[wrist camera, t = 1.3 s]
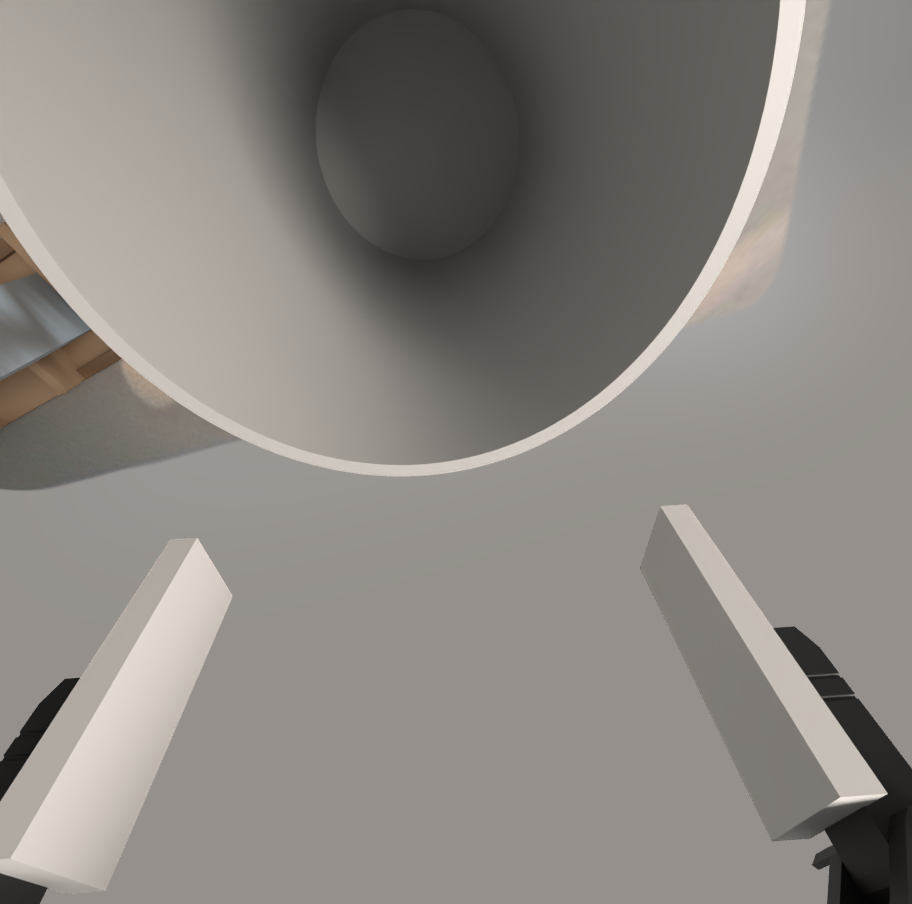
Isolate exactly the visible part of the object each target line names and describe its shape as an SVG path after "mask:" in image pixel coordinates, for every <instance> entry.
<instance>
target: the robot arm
mask: <svg viewBox="0 0 912 904" xmlns="http://www.w3.org/2000/svg"><path fill="white" fill-rule="evenodd" d="M640 569H641V571H642V573H643V575H644V577H645V579H646V581H647V584H648V586H649V588H650V590H651V592H652V594H653V596H654V598H655V600H656V602H657V604H658V606H659V608H660V610H661V613H662V615H663V617H664V619H665V621H666V623H667V625H668V627H669V629H670V631H671V633H672V635H673V637H674V639H675V642H676V644H677V646H678V648H679V650H680V652H681V654H682V656H683V658H684V660H685V662H686V664H687V666H688V668H689V670H690V673H691V675H692V677H693V679H694V681H695V683H696V685H697V687H698V689H699V691H700V693H701V695H702V698H703V700H704V702H705V704H706V706H707V708H708V710H709V712H710V714H711V716H712V718H713V720H714V722H715V724H716V726H717V729H718V731H719V733H720V735H721V737H722V739H723V741H724V743H725V745H726V747H727V749H728V751H729V753H730V755H731V758H732V760H733V762H734V764H735V766H736V768H737V770H738V772H739V774H740V776H741V778H742V780H743V782H744V785H745V787H746V788H747V791H748V793H749V795H750V797H751V799H752V801H753V803H754V805H755V807H756V809H757V811H758V813H759V816H760V817H761V820H762V822H763V824H764V826H765V828H766V830H767V832H768V834H769V836H770V838H771V840H772V841H782V840H795V839H809V838H812V837H814V836H815V835H817V834H819V833H821V832H822V831H824V830H825V831H826V833H827V835H828V837H829V839H830V840H831V842H832V844H833V845H832V846H830V847H828V848H826V849H824V850H823V851H821V852H819V853H817V854H816V855H815V859H814V861H813V864H812V865H813V866H814V867H816V868H817V869H822V868H824V867H826V866H828V865H830V868H829V884H828V901H827V904H912V769H911V767H910V766H909V765H908V763H907V762H906V761H905V759H904V758H903V757H902V755H901V754H900V753H899V752H898V750H897V749H896V748H895V746H894V745H893V744H892V742H891V741H890V740H889V739H888V737H887V736H886V735H885V733H884V732H883V730H882V729H881V728H880V726H879V725H878V724H877V722H876V721H875V720H874V719H873V717H872V716H871V715H870V713H869V712H868V711H867V709H866V708H865V707H864V705H863V704H862V703H861V701H860V700H859V699H856V698H855V696H854V692H853V691H852V690H851V688H850V687H849V686H848V684H847V683H846V682H845V680H844V679H843V678H841V677H840V676H839V675H838V671H837V670H836V668H835V667H834V666H833V664H832V663H831V662H830V661H829V659H828V658H827V657H826V655H825V654H824V653H823V651H822V650H821V649H820V647H818V646H817V645H816V644H815V643H814V642H812V641H811V640H810V639H809V638H808V637H806V636H805V635H804V634H803V633H802V632H800V631H799V630H798V629H797V628H796V627H782V628H773V627H772V626H771V625H770V623H769V622H768V620H767V619H766V617H765V616H764V615H763V613H762V612H761V610H760V609H759V607H758V606H757V604H756V603H755V602H754V600H753V599H752V597H751V596H750V594H749V593H748V591H747V590H746V588H745V587H744V586H743V584H742V583H741V581H740V580H739V578H738V577H737V575H736V574H735V573H734V571H733V570H732V568H731V567H730V565H729V564H728V563H727V561H726V560H725V558H724V557H723V555H722V554H721V553H720V551H719V550H718V548H717V547H716V545H715V544H714V542H713V541H712V539H711V538H710V537H709V535H708V534H707V532H706V531H705V529H704V528H703V526H702V525H701V524H700V522H699V521H698V519H697V518H696V517H695V515H694V514H693V512H692V511H691V509H690V508H689V506H688V505H672V506H661V507H660V509H659V512H658V515H657V518H656V521H655V524H654V527H653V530H652V533H651V537H650V539H649V542H648V546H647V548H646V552H645V555H644V558H643V561H642V564H641V567H640ZM231 599H232V594H231V593H230V591H229V589H228V588H227V586H226V585H225V583H224V581H223V579H222V578H221V576H220V574H219V573H218V571H217V570H216V568H215V566H214V565H213V563H212V561H211V560H210V558H209V556H208V555H207V553H206V551H205V550H204V548H203V546H202V545H201V543H200V542H199V540H198V538H184V539H170V540H169V542H168V543H167V545H166V546H165V548H164V550H163V551H162V553H161V554H160V556H159V557H158V559H157V560H156V562H155V564H154V565H153V567H152V568H151V570H150V571H149V573H148V574H147V576H146V577H145V579H144V580H143V582H142V583H141V585H140V587H139V588H138V590H137V591H136V593H135V594H134V596H133V597H132V599H131V600H130V602H129V604H128V605H127V607H126V608H125V610H124V611H123V613H122V614H121V616H120V617H119V619H118V621H117V622H116V624H115V625H114V627H113V628H112V630H111V631H110V633H109V635H108V636H107V637H106V639H105V641H104V642H103V644H102V645H101V647H100V648H99V650H98V652H97V653H96V654H95V656H94V658H93V659H92V661H91V662H90V664H89V665H88V667H87V668H86V670H85V672H84V673H83V675H82V676H81V678H71V679H64V680H63V681H62V682H61V683H60V684H59V685H58V686H57V687H56V688H55V689H54V690H53V691H52V692H51V693H50V694H49V695H48V696H47V697H46V698H45V699H44V700H43V701H42V702H41V703H40V704H39V705H38V706H37V708H36V709H35V711H34V712H33V714H32V715H31V716H30V718H29V719H28V721H27V722H26V724H25V725H24V727H23V728H22V730H21V731H20V736H19V737H17V738H15V740H14V741H13V743H12V744H11V745H10V747H9V749H8V750H7V751H6V753H5V754H4V759H3V760H2V761H1V762H0V904H40V902H41V900H42V898H43V896H44V894H45V892H46V890H47V888H48V889H51V890H55V891H58V892H61V893H65V894H72V893H85V892H99V891H106V888H107V886H108V884H109V881H110V879H111V877H112V874H113V872H114V870H115V867H116V865H117V863H118V861H119V858H120V856H121V853H122V851H123V849H124V847H125V844H126V842H127V840H128V837H129V835H130V833H131V830H132V828H133V826H134V823H135V821H136V819H137V817H138V814H139V812H140V810H141V807H142V805H143V803H144V800H145V798H146V796H147V793H148V791H149V788H150V786H151V784H152V782H153V779H154V777H155V775H156V772H157V770H158V768H159V766H160V763H161V761H162V759H163V756H164V754H165V752H166V749H167V747H168V745H169V742H170V740H171V738H172V735H173V733H174V731H175V728H176V726H177V724H178V722H179V719H180V717H181V715H182V712H183V710H184V708H185V705H186V703H187V701H188V698H189V696H190V694H191V692H192V689H193V687H194V685H195V682H196V680H197V678H198V675H199V673H200V671H201V668H202V666H203V664H204V661H205V659H206V657H207V654H208V652H209V650H210V647H211V645H212V643H213V641H214V638H215V636H216V634H217V631H218V629H219V627H220V624H221V622H222V620H223V617H224V615H225V613H226V610H227V608H228V606H229V603H230V601H231Z"/></svg>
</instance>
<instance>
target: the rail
mask: <svg viewBox="0 0 912 904" xmlns="http://www.w3.org/2000/svg"><path fill="white" fill-rule="evenodd" d="M0 236H1V237H2V238H0V429H1V428H3V427H4V426H6V425H7V424H9V423H11V422H12V421H14V420H16V419H18V418H19V417H21V416H23V415H24V414H26V413H28V412H30V411H31V410H33V409H35V408H36V407H38V406H40V405H42V404H43V403H45V402H47V401H49V400H50V399H52V398H54V397H55V396H57V395H59V394H60V395H62V394H64V393H66V392H68V391H69V390H71V389H72V388H74V387H75V386H77V385H78V384H80V383H81V382H83V381H84V380H86V379H87V378H89V377H91V376H92V375H94V374H96V373H98V372H99V371H101V370H103V369H104V368H106V367H108V366H110V365H111V364H113V363H115V362H117V361H118V360H120V359H122V358H121V357H120V356H119V355H118V354H116V353H115V352H114V351H113V350H112V349H111V348H110V347H109V346H108V345H107V344H106V343H105V342H104V341H103V340H102V339H101V338H100V337H99V336H98V335H97V334H96V333H95V332H94V331H93V330H92V329H91V328H90V327H89V326H88V325H87V324H86V323H85V322H84V321H83V320H82V319H81V318H80V317H79V316H78V314H77V313H76V312H75V311H74V310H73V309H72V308H71V307H70V306H69V304H68V303H67V302H66V301H65V300H64V299H63V297H62V296H61V295H60V294H59V293H58V292H57V290H56V289H55V288H54V287H53V286H52V284H51V283H50V282H49V281H48V279H47V278H46V277H45V276H44V274H43V273H42V272H41V270H40V269H39V268H38V266H37V265H36V264H35V262H34V261H33V260H32V259H31V257H30V256H29V254H28V253H27V252H26V250H25V249H24V247H23V246H22V245H21V243H20V242H19V240H18V239H17V238H16V236H15V235H14V233H13V232H12V230H11V229H10V227H9V226H8V224H7V223H6V222H5V223H2V224H1V225H0Z"/></svg>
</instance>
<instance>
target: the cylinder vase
mask: <svg viewBox="0 0 912 904" xmlns="http://www.w3.org/2000/svg"><path fill="white" fill-rule="evenodd" d="M805 4H806V0H0V213H1V215H2V216H3V218H4V220H5V221H6V223H7V224H8V226H9V227H10V229H11V230H12V232H13V233H14V235H15V236H16V238H17V239H18V240H19V242H20V243H21V245H22V246H23V247H24V249H25V250H26V252H27V253H28V254H29V256H30V257H31V259H32V260H33V261H34V262H35V264H36V265H37V266H38V268H39V269H40V270H41V272H42V273H43V274H44V276H45V277H46V278H47V279H48V281H49V282H50V283H51V284H52V286H53V287H54V288H55V289H56V290H57V292H58V293H59V294H60V295H61V296H62V297H63V299H64V300H65V301H66V302H67V303H68V304H69V306H70V307H71V308H72V309H73V310H74V311H75V312H76V313H77V314H78V316H79V317H80V318H81V319H82V320H83V321H84V322H85V323H86V324H87V325H88V326H89V327H90V328H91V329H92V330H93V331H94V332H95V333H96V334H97V335H98V336H99V337H100V338H101V339H102V340H103V341H104V342H105V343H106V344H107V345H108V346H109V347H110V348H111V349H112V350H113V351H114V352H115V353H116V354H118V355H119V356H120V357H121V358H122V359H123V360H124V361H125V362H127V363H128V364H129V365H130V366H131V367H132V368H133V369H135V370H136V371H137V372H138V373H140V374H141V375H142V376H143V377H144V378H146V379H147V380H148V381H149V382H151V383H152V384H153V385H155V386H156V387H157V388H159V389H160V390H161V391H163V392H164V393H165V394H167V395H168V396H169V397H171V398H172V399H174V400H175V401H177V402H178V403H180V404H181V405H183V406H184V407H186V408H187V409H189V410H190V411H192V412H193V413H195V414H197V415H198V416H200V417H202V418H203V419H205V420H207V421H208V422H210V423H212V424H214V425H215V426H217V427H219V428H221V429H223V430H225V431H227V432H229V433H230V434H232V435H234V436H237V437H239V438H241V439H243V440H245V441H247V442H249V443H252V444H254V445H256V446H259V447H261V448H263V449H266V450H268V451H271V452H274V453H276V454H279V455H282V456H285V457H288V458H291V459H294V460H298V461H301V462H304V463H308V464H312V465H315V466H320V467H324V468H328V469H334V470H338V471H345V472H351V473H358V474H366V475H378V476H423V475H434V474H443V473H450V472H456V471H461V470H467V469H471V468H476V467H479V466H483V465H487V464H491V463H494V462H497V461H501V460H504V459H507V458H510V457H512V456H515V455H518V454H520V453H522V452H525V451H527V450H530V449H532V448H534V447H537V446H539V445H541V444H543V443H545V442H547V441H549V440H551V439H553V438H555V437H557V436H558V435H560V434H562V433H564V432H565V431H567V430H569V429H570V428H572V427H574V426H575V425H577V424H579V423H580V422H582V421H584V420H585V419H586V418H588V417H589V416H591V415H592V414H594V413H595V412H596V411H598V410H599V409H601V408H602V407H603V406H605V405H606V404H607V403H609V402H610V401H611V400H612V399H614V398H615V397H616V396H617V395H618V394H620V393H621V392H622V391H623V390H624V389H625V388H627V387H628V386H629V385H630V384H631V383H632V382H633V381H634V380H635V379H636V378H638V377H639V376H640V375H641V374H642V373H643V372H644V371H645V370H646V369H647V368H648V367H649V366H650V364H651V363H652V362H653V361H654V360H655V359H656V358H657V357H658V356H659V355H660V354H661V353H662V352H663V350H664V349H665V348H666V347H667V346H668V345H669V344H670V342H671V341H672V340H673V339H674V338H675V336H676V335H677V334H678V333H679V331H680V330H681V329H682V328H683V326H684V325H685V324H686V322H687V321H688V320H689V318H690V317H691V316H692V314H693V313H694V312H695V310H696V309H697V307H698V306H699V304H700V303H701V301H702V300H703V298H704V297H705V295H706V294H707V292H708V291H709V289H710V288H711V286H712V284H713V283H714V281H715V279H716V278H717V276H718V274H719V273H720V271H721V269H722V268H723V266H724V264H725V262H726V260H727V259H728V257H729V255H730V253H731V251H732V249H733V247H734V245H735V243H736V242H737V240H738V238H739V236H740V234H741V231H742V229H743V227H744V225H745V223H746V221H747V219H748V216H749V214H750V212H751V210H752V207H753V205H754V203H755V200H756V198H757V195H758V193H759V190H760V188H761V185H762V183H763V180H764V177H765V174H766V172H767V169H768V166H769V163H770V161H771V157H772V154H773V151H774V148H775V145H776V142H777V139H778V135H779V132H780V129H781V125H782V122H783V118H784V114H785V110H786V107H787V103H788V99H789V95H790V90H791V86H792V81H793V77H794V72H795V67H796V62H797V57H798V51H799V46H800V40H801V33H802V27H803V20H804V12H805Z"/></svg>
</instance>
